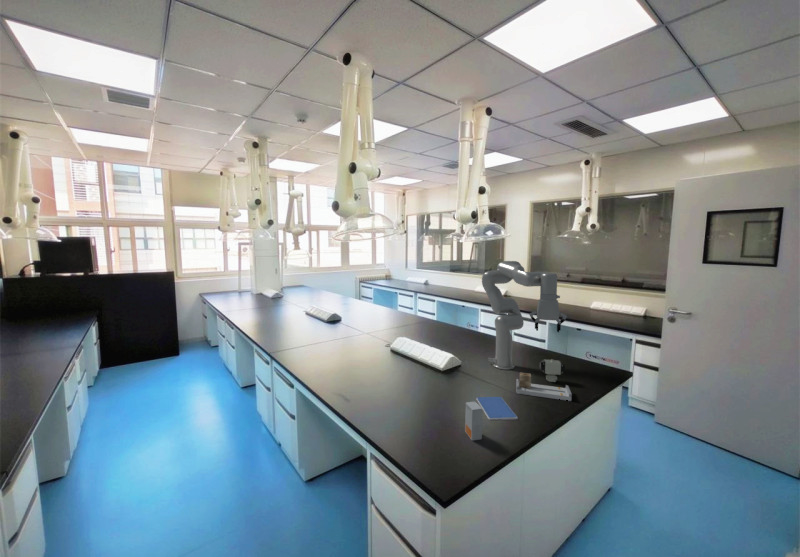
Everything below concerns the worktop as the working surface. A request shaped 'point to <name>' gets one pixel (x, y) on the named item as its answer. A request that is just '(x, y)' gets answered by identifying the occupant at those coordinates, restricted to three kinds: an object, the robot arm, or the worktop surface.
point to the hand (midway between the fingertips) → (547, 330)
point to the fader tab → (525, 380)
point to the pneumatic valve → (552, 369)
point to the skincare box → (473, 421)
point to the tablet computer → (496, 408)
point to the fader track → (545, 391)
